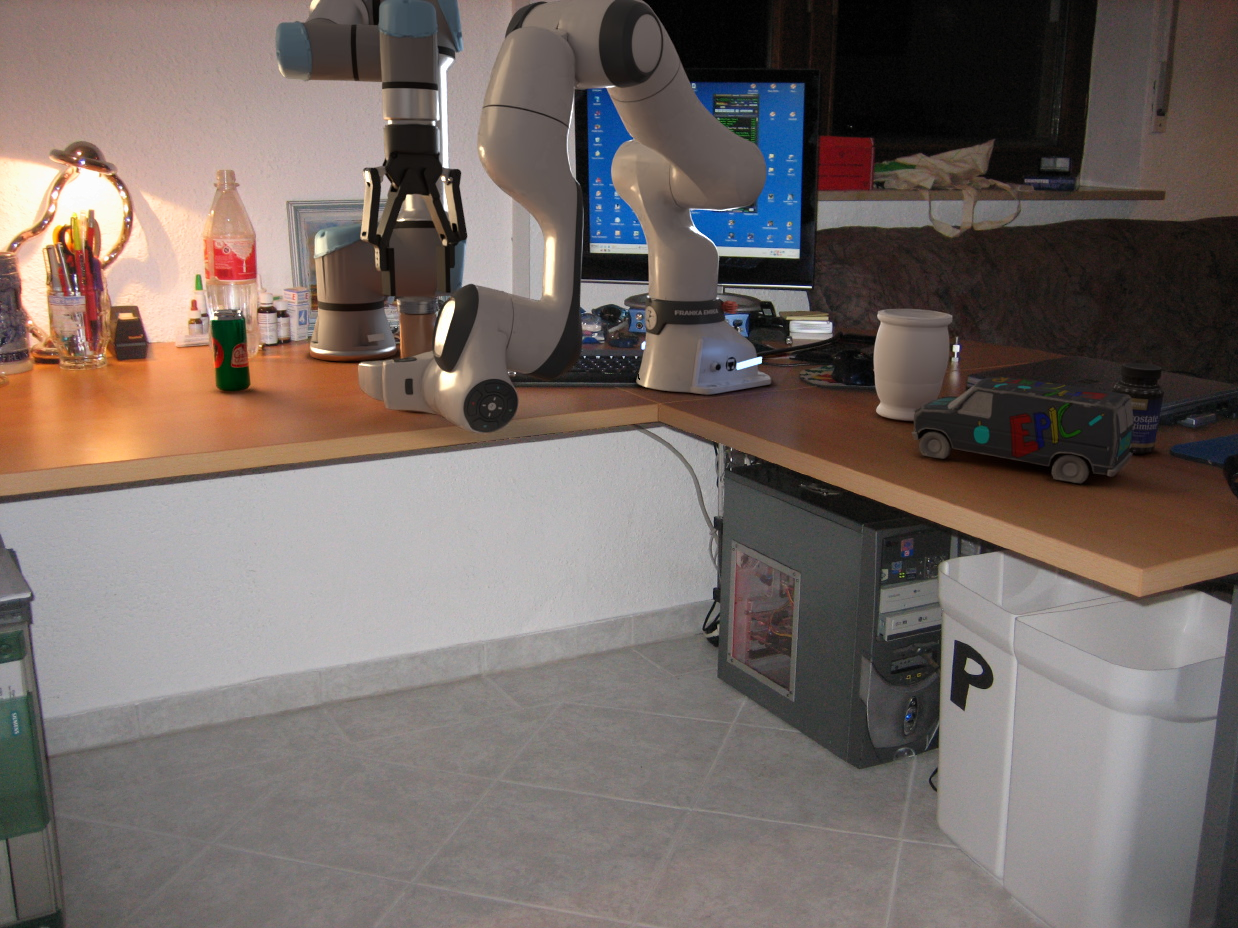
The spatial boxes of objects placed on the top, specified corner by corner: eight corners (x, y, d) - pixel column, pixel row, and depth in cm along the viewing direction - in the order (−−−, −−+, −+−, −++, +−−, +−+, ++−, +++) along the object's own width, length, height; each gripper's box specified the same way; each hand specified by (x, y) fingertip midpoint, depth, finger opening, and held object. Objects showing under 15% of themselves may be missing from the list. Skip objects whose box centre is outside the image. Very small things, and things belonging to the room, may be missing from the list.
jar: (854, 409, 159) (862, 309, 155) (910, 404, 163) (920, 306, 159) (898, 426, 150) (909, 320, 146) (957, 420, 154) (969, 317, 150)
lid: (446, 310, 152) (446, 298, 152) (418, 315, 148) (417, 302, 147) (417, 307, 156) (417, 295, 155) (388, 311, 151) (388, 299, 151)
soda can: (239, 393, 162) (233, 314, 158) (209, 391, 163) (202, 312, 159) (257, 386, 167) (251, 309, 163) (227, 384, 168) (221, 308, 164)
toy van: (934, 436, 145) (942, 364, 142) (1131, 470, 131) (1144, 390, 128) (905, 453, 136) (913, 376, 134) (1112, 490, 123) (1125, 406, 120)
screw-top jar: (446, 407, 156) (444, 302, 152) (421, 414, 152) (417, 305, 148) (420, 402, 159) (417, 298, 155) (394, 408, 155) (390, 302, 151)
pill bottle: (1117, 454, 138) (1130, 370, 135) (1094, 442, 144) (1106, 361, 140) (1163, 454, 138) (1177, 370, 135) (1139, 442, 144) (1152, 361, 141)
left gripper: (466, 127, 153) (469, 287, 159) (327, 121, 142) (336, 294, 148) (491, 126, 147) (494, 292, 154) (349, 120, 136) (358, 300, 142)
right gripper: (520, 352, 147) (484, 337, 158) (373, 363, 137) (346, 346, 149) (521, 397, 149) (485, 378, 160) (375, 411, 139) (349, 390, 151)
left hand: (417, 293), depth 151 cm, fingers open, 8 cm apart
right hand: (417, 363), depth 155 cm, fingers closed on screw-top jar, 5 cm apart
